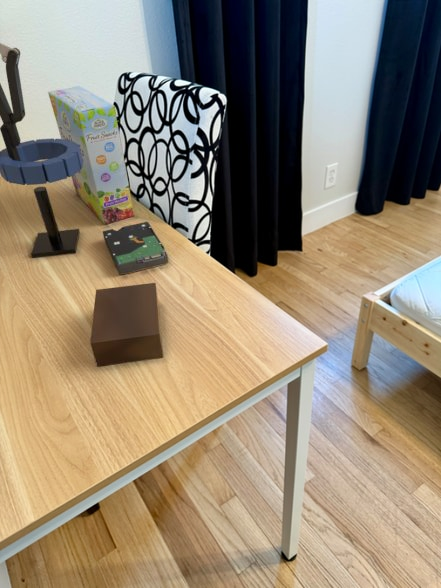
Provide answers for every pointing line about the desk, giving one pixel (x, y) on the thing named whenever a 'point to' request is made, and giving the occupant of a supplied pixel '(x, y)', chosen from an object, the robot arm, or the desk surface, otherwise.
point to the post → (52, 231)
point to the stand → (126, 325)
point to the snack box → (95, 151)
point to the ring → (42, 162)
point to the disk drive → (135, 248)
